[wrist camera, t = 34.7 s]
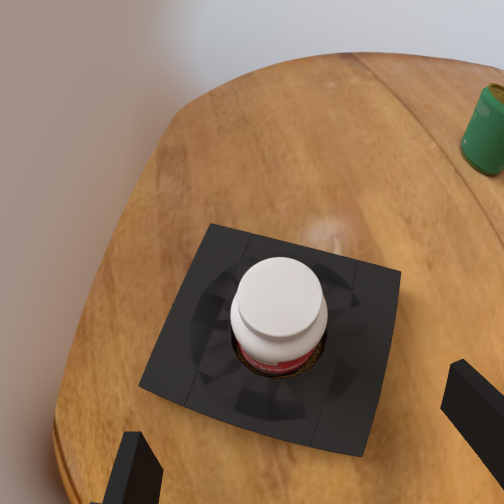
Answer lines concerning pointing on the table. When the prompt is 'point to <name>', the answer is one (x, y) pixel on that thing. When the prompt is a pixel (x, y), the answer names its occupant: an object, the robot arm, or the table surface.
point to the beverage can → (486, 132)
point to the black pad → (286, 389)
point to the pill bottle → (278, 315)
